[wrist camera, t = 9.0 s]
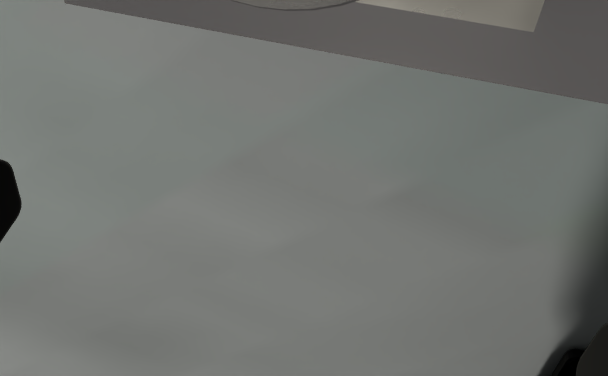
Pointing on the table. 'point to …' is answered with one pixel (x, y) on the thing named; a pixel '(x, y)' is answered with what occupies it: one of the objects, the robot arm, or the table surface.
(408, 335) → the table surface
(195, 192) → the table surface
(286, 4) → the lens
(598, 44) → the grey flat block
